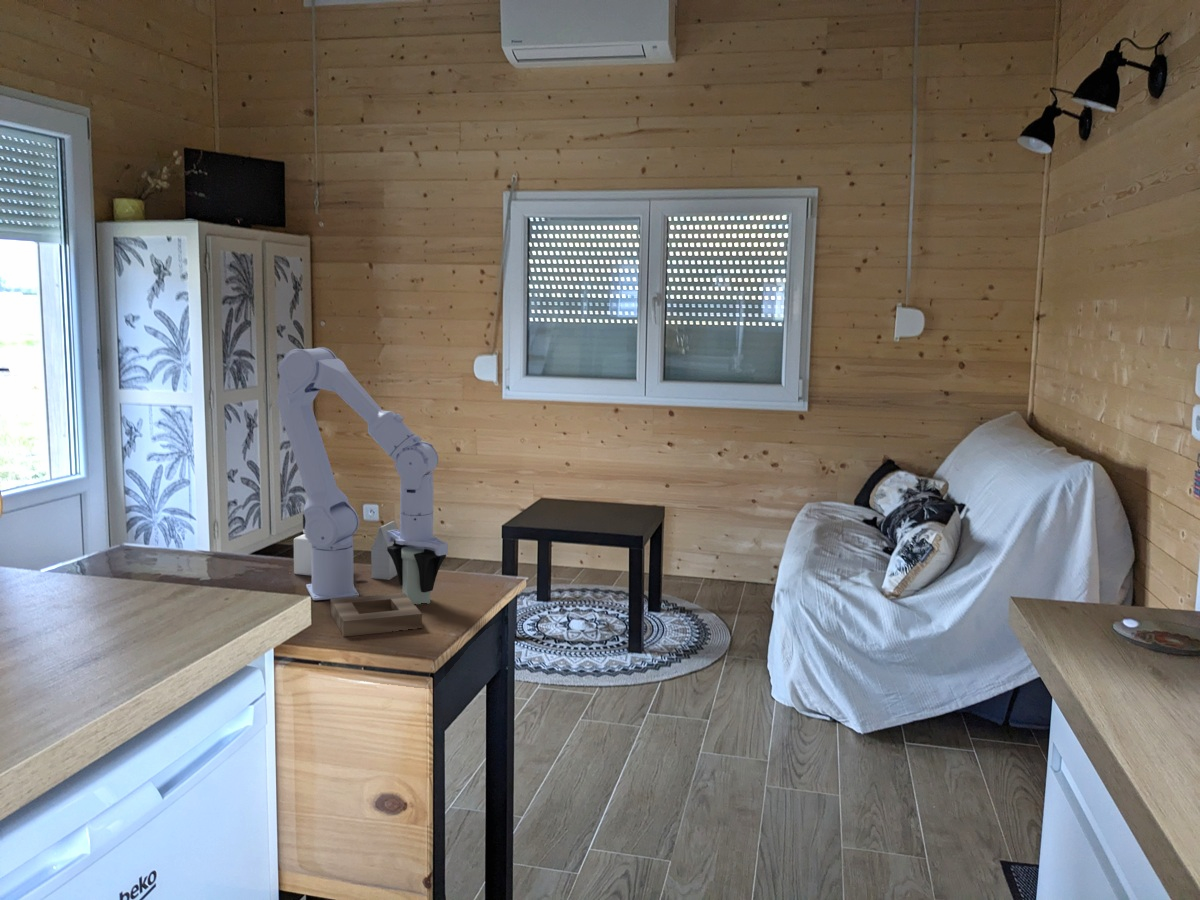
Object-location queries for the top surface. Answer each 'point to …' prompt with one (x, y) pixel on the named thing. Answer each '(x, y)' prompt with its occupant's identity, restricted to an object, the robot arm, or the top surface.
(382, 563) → the grey gabled block
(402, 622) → the walnut holder
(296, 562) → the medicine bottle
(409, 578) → the green peg
